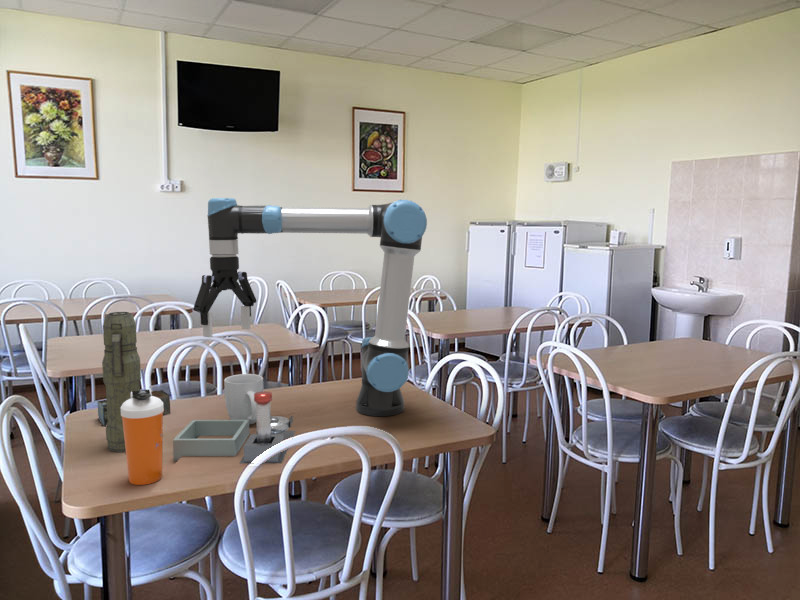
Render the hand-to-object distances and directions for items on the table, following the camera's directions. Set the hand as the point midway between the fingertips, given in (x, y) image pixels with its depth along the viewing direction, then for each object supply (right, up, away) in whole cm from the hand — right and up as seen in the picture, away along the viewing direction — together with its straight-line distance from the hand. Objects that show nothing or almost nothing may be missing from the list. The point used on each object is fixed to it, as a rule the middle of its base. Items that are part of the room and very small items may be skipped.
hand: (227, 332), depth 165 cm
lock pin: (+14, -29, -19) cm, 38 cm away
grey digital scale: (+14, -30, -12) cm, 35 cm away
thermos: (-24, -29, -9) cm, 39 cm away
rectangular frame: (0, -29, -12) cm, 32 cm away
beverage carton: (-32, -26, +14) cm, 44 cm away
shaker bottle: (-10, -32, -29) cm, 44 cm away
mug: (+3, -27, +9) cm, 29 cm away
